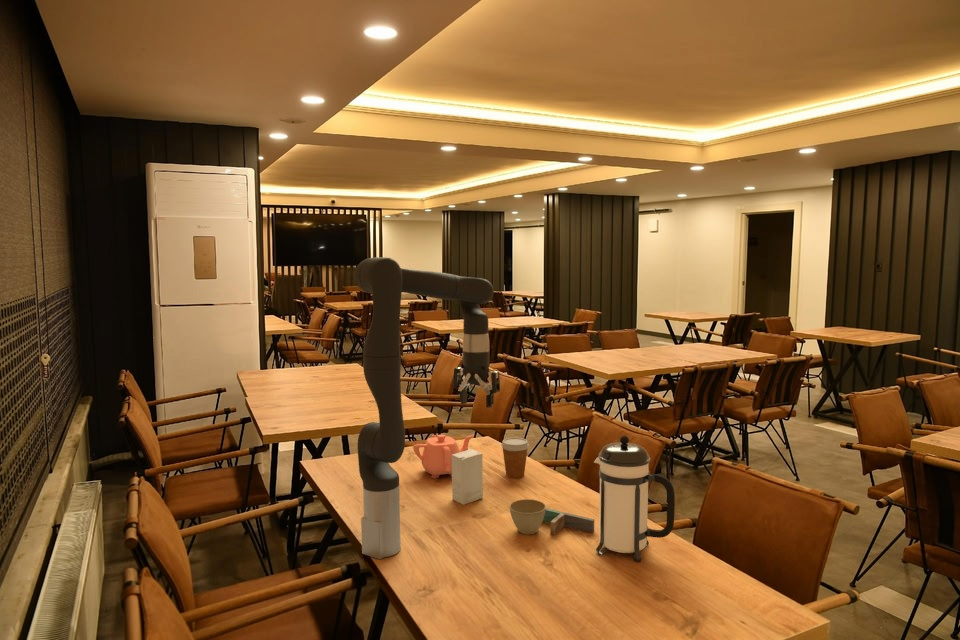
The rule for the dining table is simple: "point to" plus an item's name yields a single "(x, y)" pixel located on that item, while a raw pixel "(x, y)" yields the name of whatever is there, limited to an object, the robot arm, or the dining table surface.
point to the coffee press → (628, 499)
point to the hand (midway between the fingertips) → (476, 405)
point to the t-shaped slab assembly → (567, 521)
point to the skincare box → (467, 476)
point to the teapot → (439, 454)
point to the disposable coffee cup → (515, 456)
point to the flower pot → (527, 515)
